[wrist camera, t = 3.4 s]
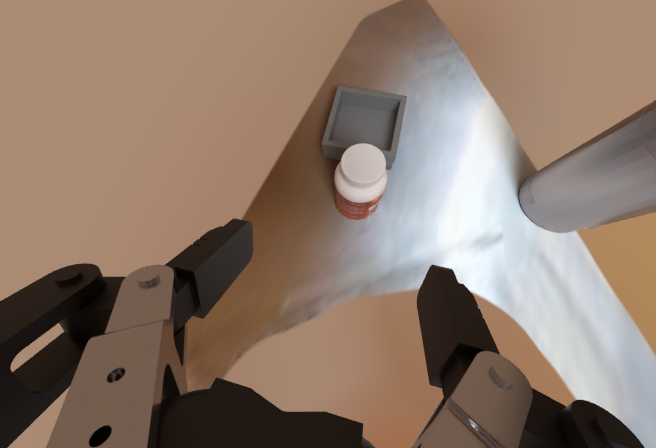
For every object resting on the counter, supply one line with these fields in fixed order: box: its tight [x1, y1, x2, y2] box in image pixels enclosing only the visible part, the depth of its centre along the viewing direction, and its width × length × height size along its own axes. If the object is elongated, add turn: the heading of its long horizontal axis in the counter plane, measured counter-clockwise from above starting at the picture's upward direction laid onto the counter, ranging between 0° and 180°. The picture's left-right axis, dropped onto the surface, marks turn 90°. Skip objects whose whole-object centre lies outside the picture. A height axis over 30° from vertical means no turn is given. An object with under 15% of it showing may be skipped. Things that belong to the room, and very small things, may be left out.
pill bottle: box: [334, 143, 387, 221], centre depth 29 cm, size 6×6×11 cm
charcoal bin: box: [322, 86, 407, 170], centre depth 36 cm, size 11×11×4 cm
